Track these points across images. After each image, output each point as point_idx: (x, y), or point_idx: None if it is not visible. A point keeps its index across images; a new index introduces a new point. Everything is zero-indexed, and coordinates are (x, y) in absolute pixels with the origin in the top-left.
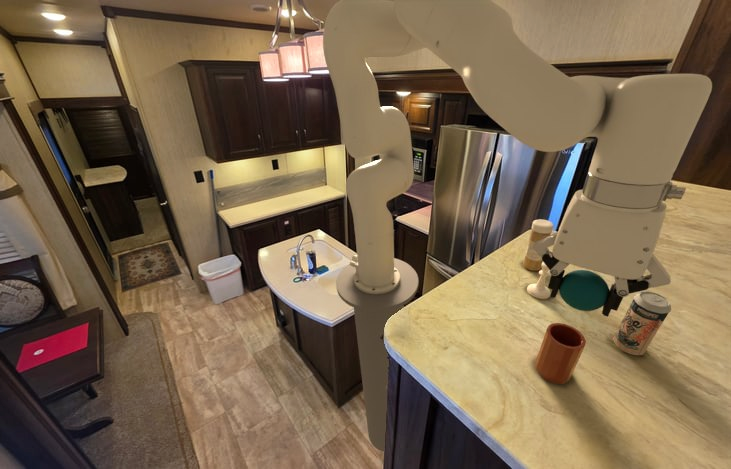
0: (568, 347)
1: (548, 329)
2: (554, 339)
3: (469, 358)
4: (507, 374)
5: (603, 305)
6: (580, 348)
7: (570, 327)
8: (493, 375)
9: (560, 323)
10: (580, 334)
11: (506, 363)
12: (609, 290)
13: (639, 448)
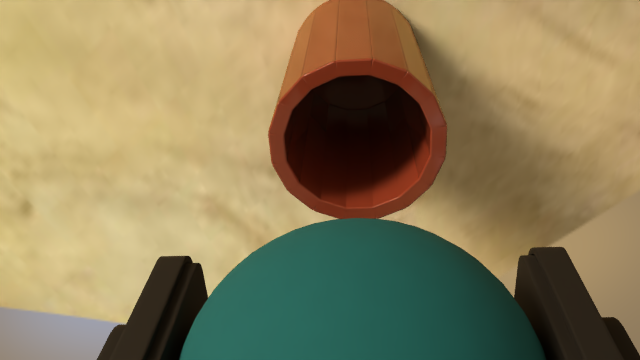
0: (383, 211)
1: (277, 156)
2: (320, 205)
3: (111, 196)
4: (239, 175)
5: (516, 280)
6: (430, 186)
7: (364, 72)
8: (207, 206)
9: (312, 74)
10: (417, 91)
11: (215, 135)
12: (562, 355)
13: (615, 170)
